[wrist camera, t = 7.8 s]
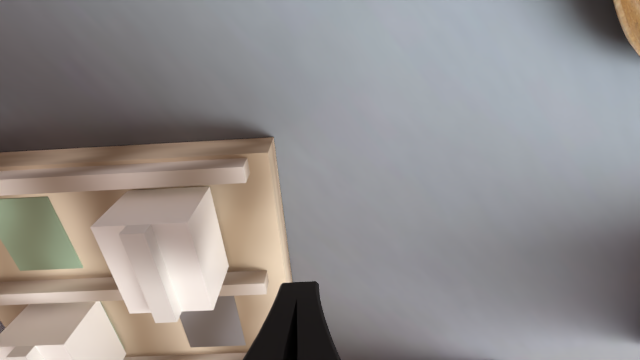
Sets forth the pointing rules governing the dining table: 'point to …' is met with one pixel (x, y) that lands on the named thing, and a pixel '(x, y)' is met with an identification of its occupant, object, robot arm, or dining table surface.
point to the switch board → (89, 263)
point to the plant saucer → (629, 20)
